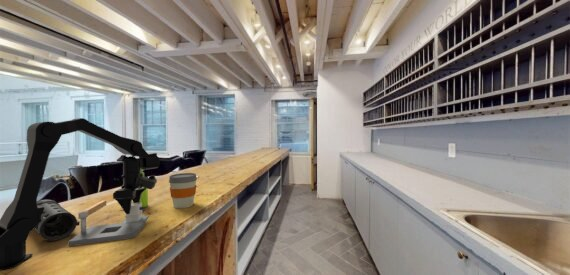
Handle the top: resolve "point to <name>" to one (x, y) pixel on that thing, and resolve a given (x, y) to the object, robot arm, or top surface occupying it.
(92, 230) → the socket block
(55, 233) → the muzzle brake
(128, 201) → the robot arm
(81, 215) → the tan wooden bar
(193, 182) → the reusable coffee cup
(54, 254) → the top surface
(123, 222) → the mat
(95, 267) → the top surface
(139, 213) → the plug
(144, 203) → the soap dispenser
